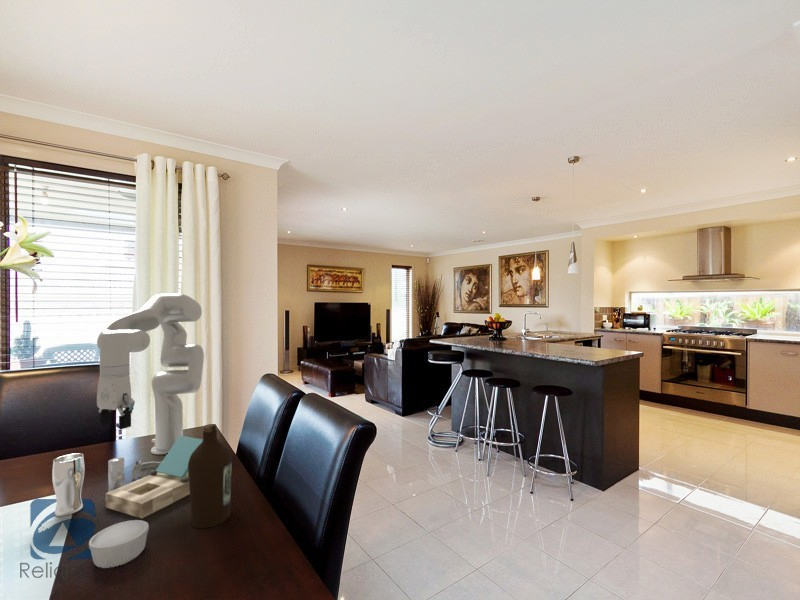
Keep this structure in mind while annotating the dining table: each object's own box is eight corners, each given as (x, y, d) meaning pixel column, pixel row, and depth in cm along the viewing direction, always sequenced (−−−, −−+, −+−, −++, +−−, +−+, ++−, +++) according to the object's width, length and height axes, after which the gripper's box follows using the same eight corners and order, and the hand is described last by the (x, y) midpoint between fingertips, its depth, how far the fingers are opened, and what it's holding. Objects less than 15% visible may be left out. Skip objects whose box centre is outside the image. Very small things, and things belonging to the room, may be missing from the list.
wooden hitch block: (105, 507, 111) (105, 489, 111) (176, 475, 131) (176, 460, 131) (142, 518, 104) (142, 499, 105) (211, 483, 125) (210, 467, 125)
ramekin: (86, 556, 89) (85, 533, 89) (143, 535, 97) (142, 514, 97) (92, 580, 81) (92, 554, 81) (154, 555, 89) (153, 532, 89)
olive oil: (183, 533, 97) (182, 433, 98) (194, 511, 108) (193, 421, 108) (229, 526, 100) (227, 429, 100) (235, 505, 110) (234, 418, 111)
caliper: (133, 481, 128) (133, 462, 128) (131, 481, 128) (131, 462, 128) (194, 460, 145) (193, 443, 145) (192, 459, 146) (192, 442, 146)
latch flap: (157, 472, 123) (155, 470, 122) (181, 436, 131) (179, 435, 130) (183, 478, 118) (181, 476, 118) (207, 441, 126) (205, 439, 126)
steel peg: (105, 493, 119) (105, 461, 119) (119, 488, 123) (119, 456, 123) (113, 496, 118) (113, 463, 118) (127, 490, 121) (127, 458, 121)
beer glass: (91, 505, 112) (90, 454, 112) (64, 518, 105) (63, 463, 105) (73, 503, 114) (72, 452, 114) (46, 515, 107) (45, 461, 107)
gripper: (84, 371, 121) (85, 427, 120) (119, 374, 114) (119, 433, 113) (110, 368, 127) (111, 420, 127) (145, 370, 120) (145, 425, 120)
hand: (115, 426), depth 120 cm, fingers open, 9 cm apart
